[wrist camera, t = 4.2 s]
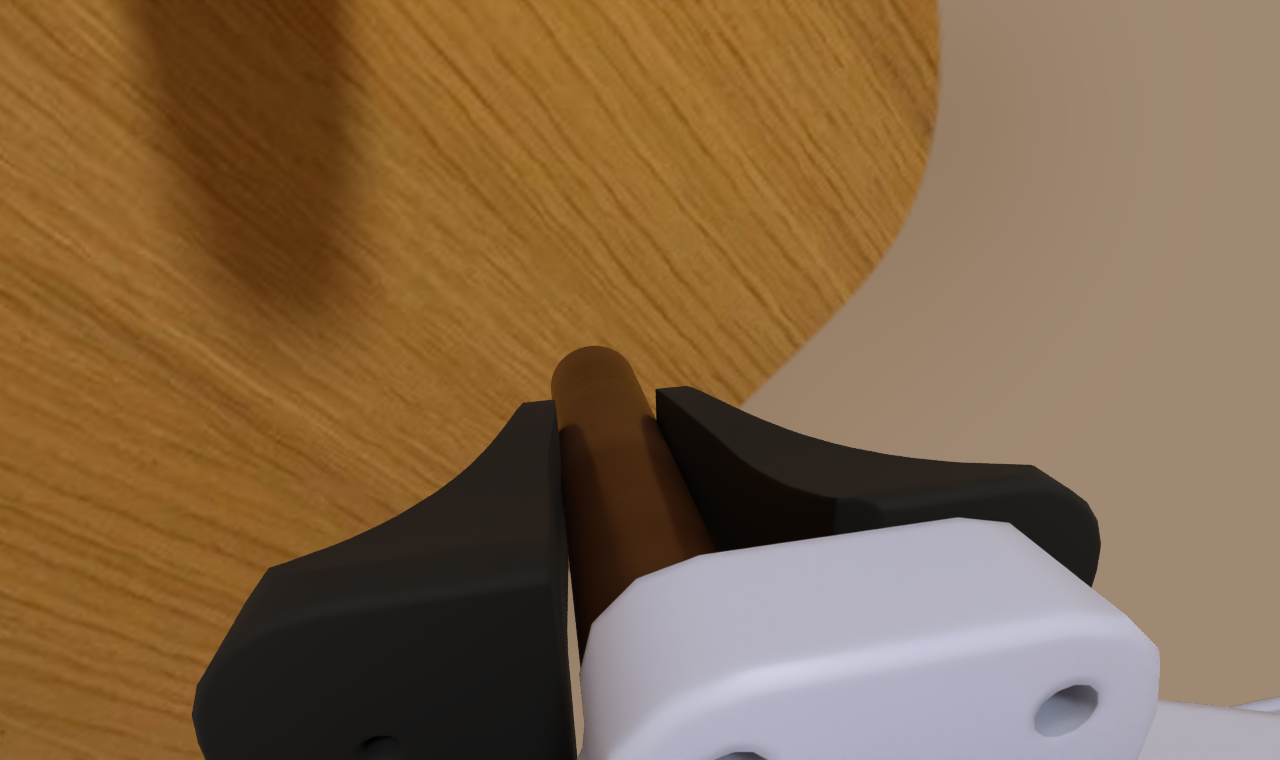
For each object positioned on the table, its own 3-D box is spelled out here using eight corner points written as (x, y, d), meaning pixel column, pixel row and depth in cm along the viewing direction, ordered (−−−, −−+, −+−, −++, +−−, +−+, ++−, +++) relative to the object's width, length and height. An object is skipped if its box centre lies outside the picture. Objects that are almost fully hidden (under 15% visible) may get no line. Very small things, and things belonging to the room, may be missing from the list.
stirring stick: (636, 418, 15) (811, 857, 6) (554, 426, 15) (604, 905, 6) (633, 341, 14) (827, 706, 5) (547, 349, 14) (590, 753, 5)
